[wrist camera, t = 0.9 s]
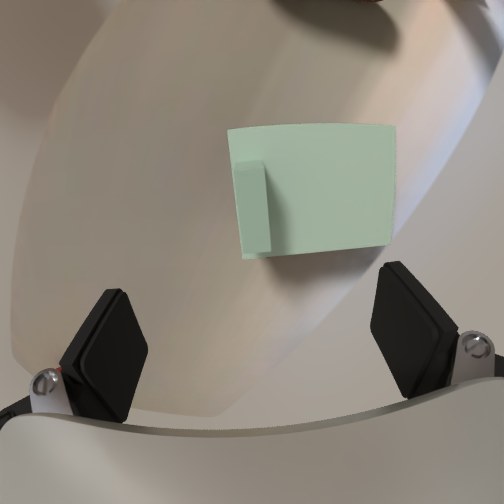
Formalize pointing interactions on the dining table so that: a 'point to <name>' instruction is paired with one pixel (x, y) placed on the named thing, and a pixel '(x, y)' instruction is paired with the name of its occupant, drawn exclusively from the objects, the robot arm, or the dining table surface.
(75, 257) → the dining table surface
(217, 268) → the dining table surface
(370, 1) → the tin
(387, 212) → the lid
